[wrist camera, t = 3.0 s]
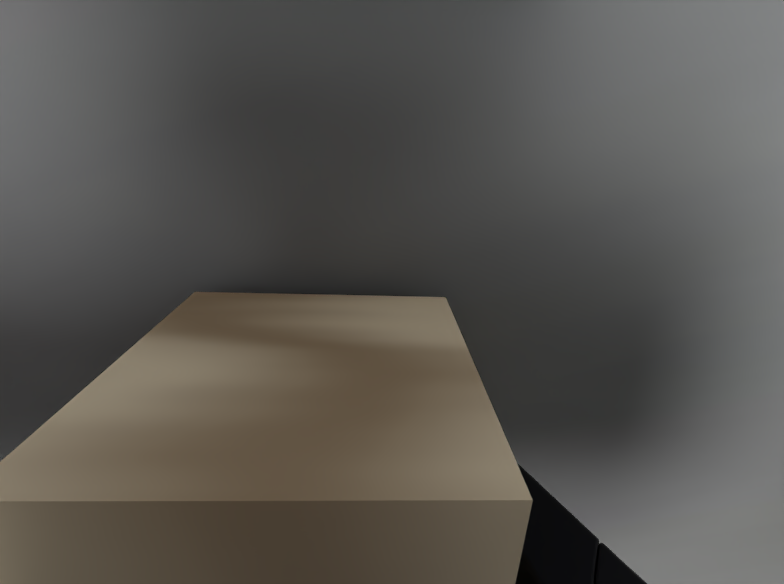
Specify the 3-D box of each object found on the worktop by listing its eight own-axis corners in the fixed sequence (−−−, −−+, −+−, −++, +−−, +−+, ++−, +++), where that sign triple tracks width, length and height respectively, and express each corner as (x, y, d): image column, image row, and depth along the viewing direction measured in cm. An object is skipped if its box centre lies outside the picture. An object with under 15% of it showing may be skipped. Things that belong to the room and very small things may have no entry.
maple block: (222, 486, 10) (86, 797, 5) (195, 292, 8) (-46, 501, 4) (428, 485, 10) (473, 781, 6) (445, 297, 8) (533, 500, 4)
